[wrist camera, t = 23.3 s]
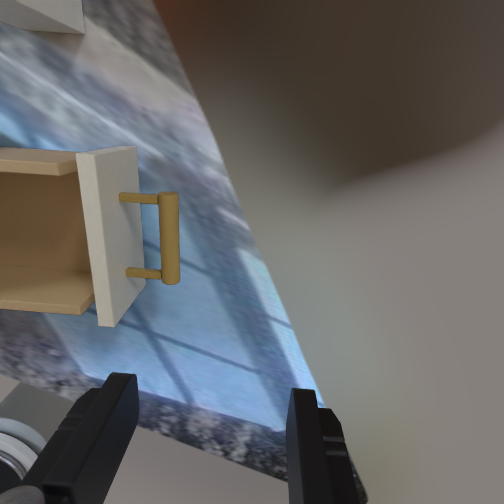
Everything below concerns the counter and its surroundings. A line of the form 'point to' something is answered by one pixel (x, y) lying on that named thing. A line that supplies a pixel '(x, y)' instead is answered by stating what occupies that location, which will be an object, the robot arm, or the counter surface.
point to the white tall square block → (44, 15)
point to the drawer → (78, 232)
